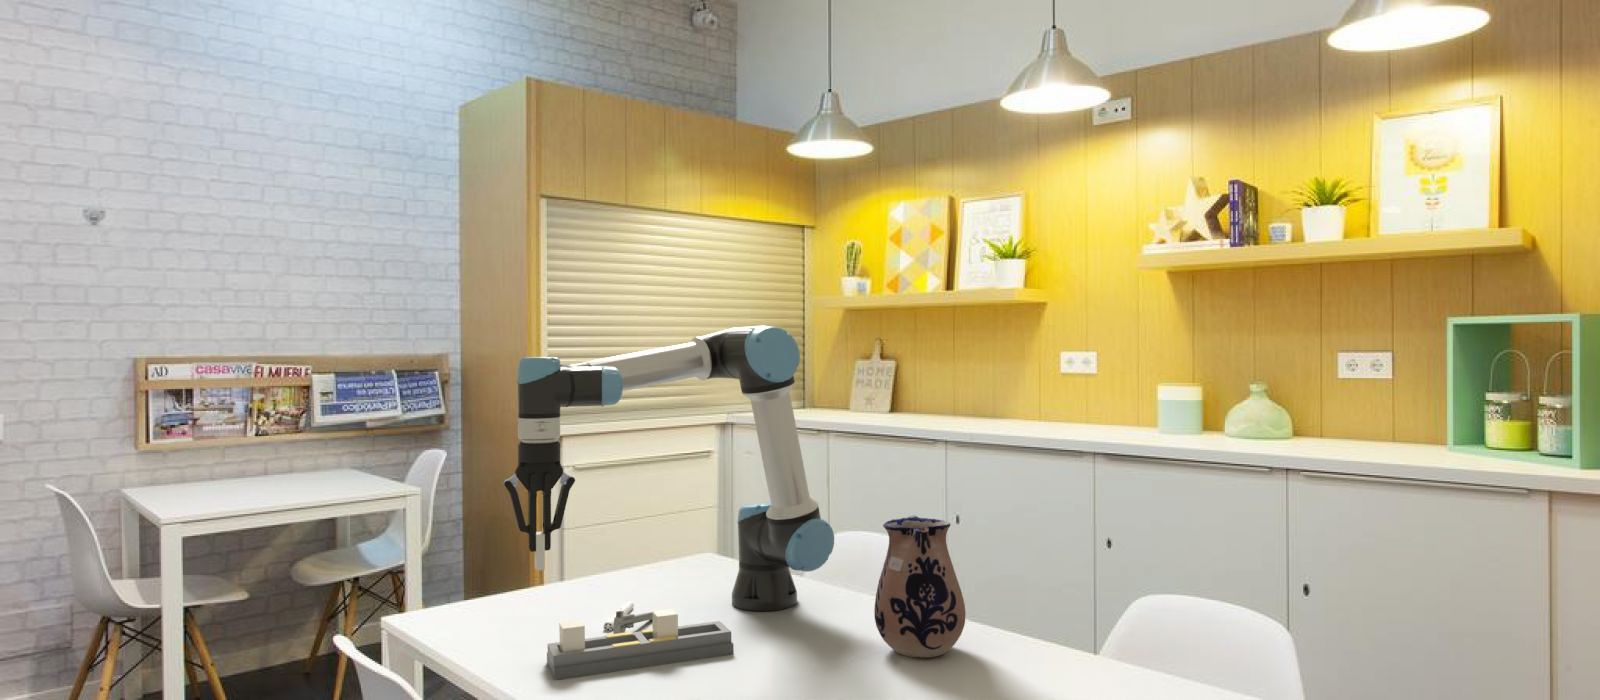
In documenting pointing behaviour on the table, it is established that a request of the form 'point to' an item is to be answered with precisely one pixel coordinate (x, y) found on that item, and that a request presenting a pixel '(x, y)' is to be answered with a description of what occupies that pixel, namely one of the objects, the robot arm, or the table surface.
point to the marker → (610, 623)
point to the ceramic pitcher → (919, 590)
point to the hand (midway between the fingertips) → (539, 568)
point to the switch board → (640, 650)
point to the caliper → (628, 620)
